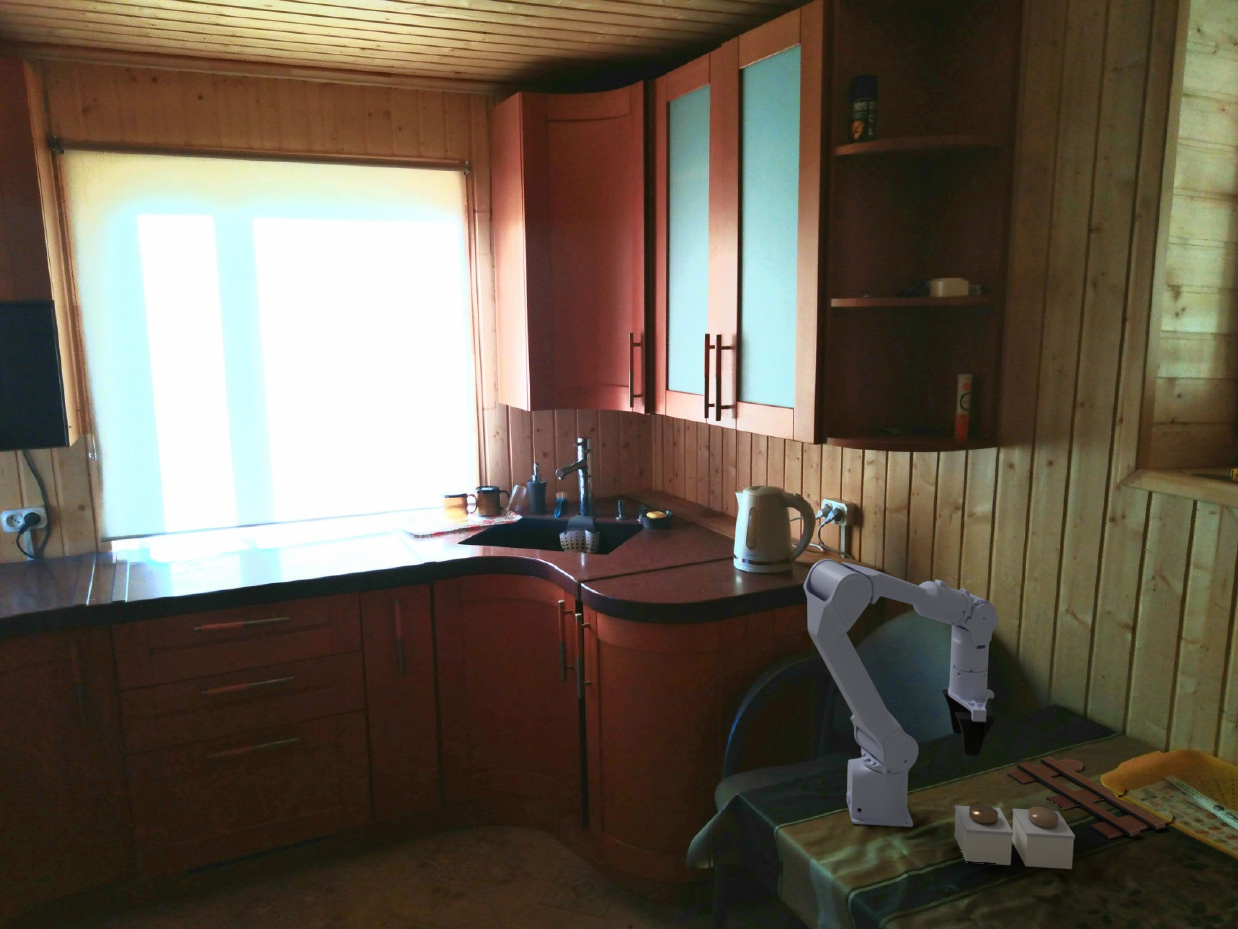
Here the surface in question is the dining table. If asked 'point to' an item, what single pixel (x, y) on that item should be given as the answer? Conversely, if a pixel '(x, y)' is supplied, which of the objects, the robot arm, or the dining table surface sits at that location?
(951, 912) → the dining table surface
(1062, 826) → the block
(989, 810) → the left press plunger
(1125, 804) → the decorative fence
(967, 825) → the left press
